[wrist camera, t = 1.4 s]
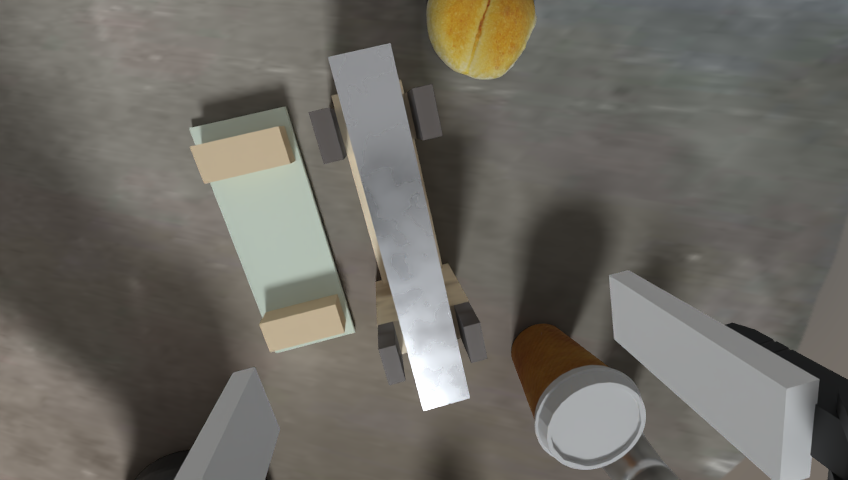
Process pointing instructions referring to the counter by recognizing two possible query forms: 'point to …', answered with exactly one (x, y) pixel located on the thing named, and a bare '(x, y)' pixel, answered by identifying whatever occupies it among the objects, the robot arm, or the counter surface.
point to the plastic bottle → (640, 464)
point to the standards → (336, 148)
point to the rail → (400, 219)
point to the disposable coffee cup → (576, 399)
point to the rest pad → (274, 226)
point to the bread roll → (480, 34)
